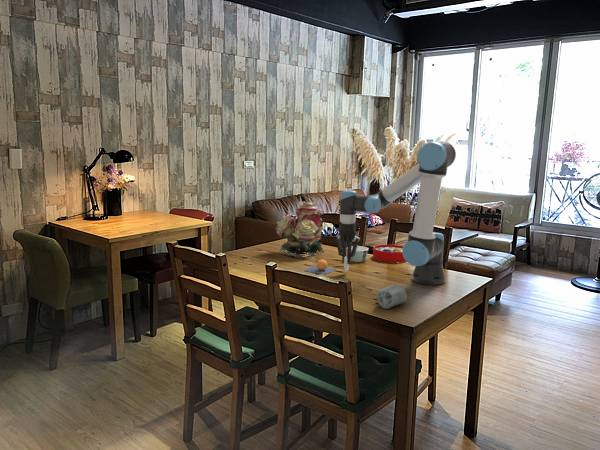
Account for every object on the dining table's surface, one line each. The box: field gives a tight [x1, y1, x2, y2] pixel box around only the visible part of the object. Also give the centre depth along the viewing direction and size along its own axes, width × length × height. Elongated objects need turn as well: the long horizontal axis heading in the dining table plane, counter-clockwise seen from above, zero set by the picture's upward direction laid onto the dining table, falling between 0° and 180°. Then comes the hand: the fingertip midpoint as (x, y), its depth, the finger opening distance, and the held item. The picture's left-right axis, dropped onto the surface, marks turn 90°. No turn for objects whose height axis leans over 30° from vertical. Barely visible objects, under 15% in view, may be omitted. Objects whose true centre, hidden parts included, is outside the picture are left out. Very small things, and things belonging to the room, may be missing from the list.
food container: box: [351, 245, 369, 263], centre depth 277 cm, size 12×12×6 cm
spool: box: [376, 284, 408, 310], centre depth 202 cm, size 14×10×10 cm
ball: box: [316, 259, 328, 271], centre depth 254 cm, size 6×6×6 cm
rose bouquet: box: [275, 200, 325, 259], centre depth 289 cm, size 26×29×30 cm
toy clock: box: [372, 244, 407, 263], centre depth 282 cm, size 20×6×20 cm
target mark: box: [304, 265, 336, 275], centre depth 255 cm, size 12×12×1 cm
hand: (346, 270), depth 248 cm, fingers closed
